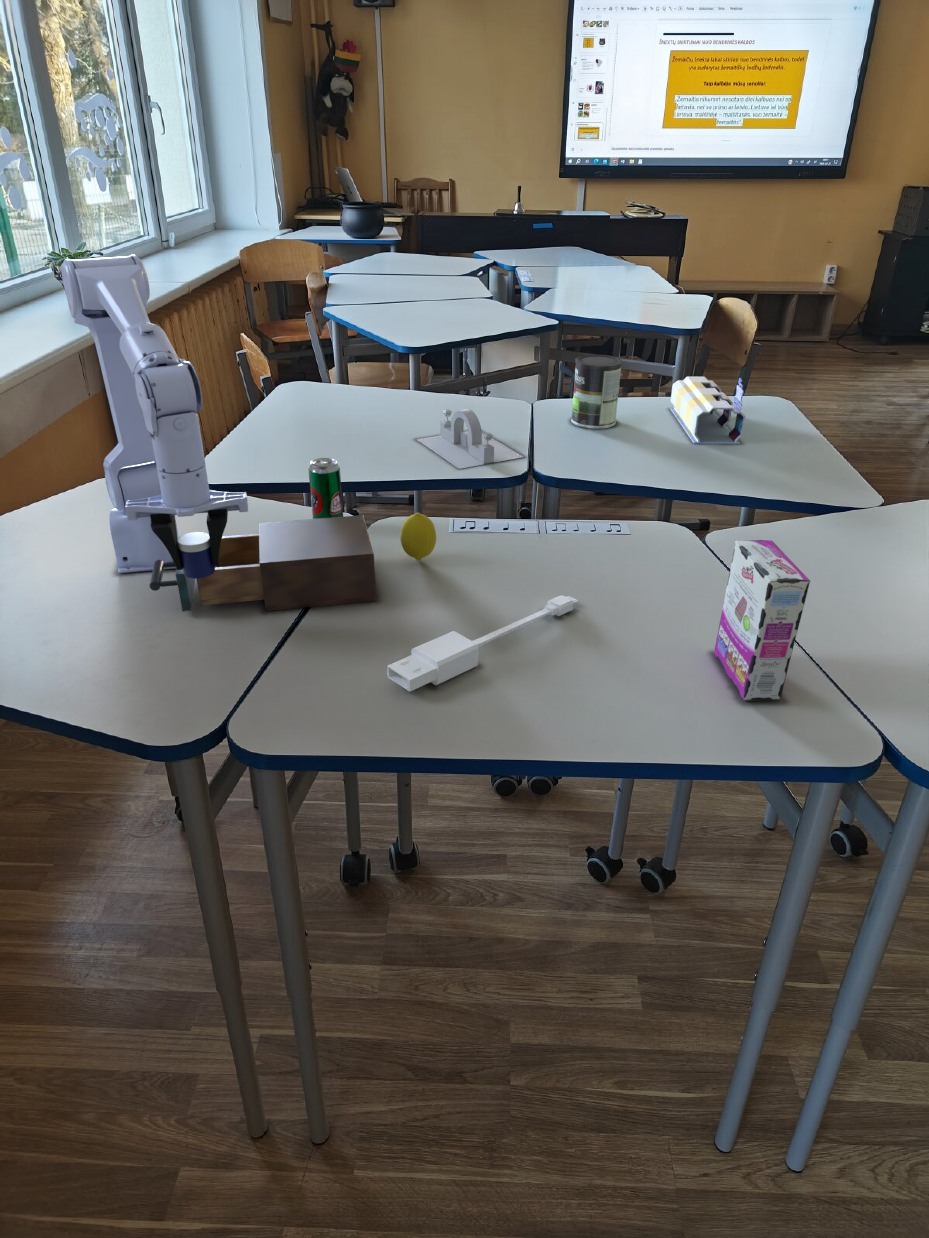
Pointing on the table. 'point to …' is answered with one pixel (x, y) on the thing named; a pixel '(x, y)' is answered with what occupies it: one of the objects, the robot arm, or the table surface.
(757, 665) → the candy bar box
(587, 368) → the coffee can
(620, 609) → the table surface
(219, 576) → the drawer
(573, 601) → the charging cable
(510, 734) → the table surface
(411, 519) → the lemon
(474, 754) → the table surface
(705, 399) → the diorama
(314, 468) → the soda can
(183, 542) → the blue jar
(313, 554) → the cabinet
